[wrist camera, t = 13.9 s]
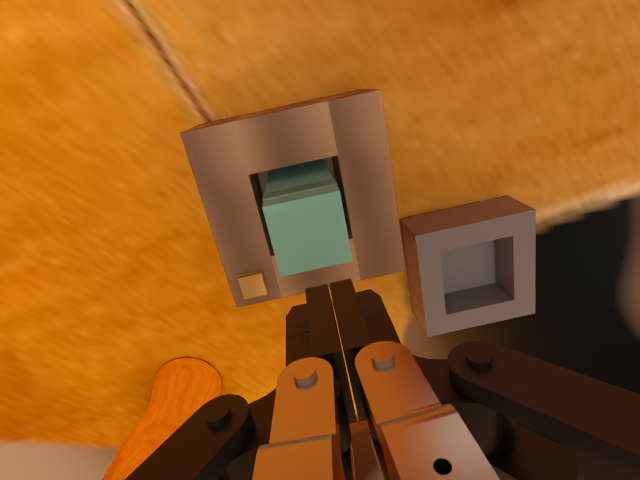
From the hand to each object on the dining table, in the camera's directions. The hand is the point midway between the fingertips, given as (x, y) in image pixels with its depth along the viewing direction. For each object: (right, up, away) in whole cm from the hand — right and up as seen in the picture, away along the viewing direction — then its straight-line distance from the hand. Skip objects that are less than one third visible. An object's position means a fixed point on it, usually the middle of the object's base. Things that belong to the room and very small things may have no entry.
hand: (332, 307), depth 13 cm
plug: (-2, +6, +17) cm, 18 cm away
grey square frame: (+11, +1, +22) cm, 24 cm away
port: (-2, +6, +18) cm, 19 cm away
